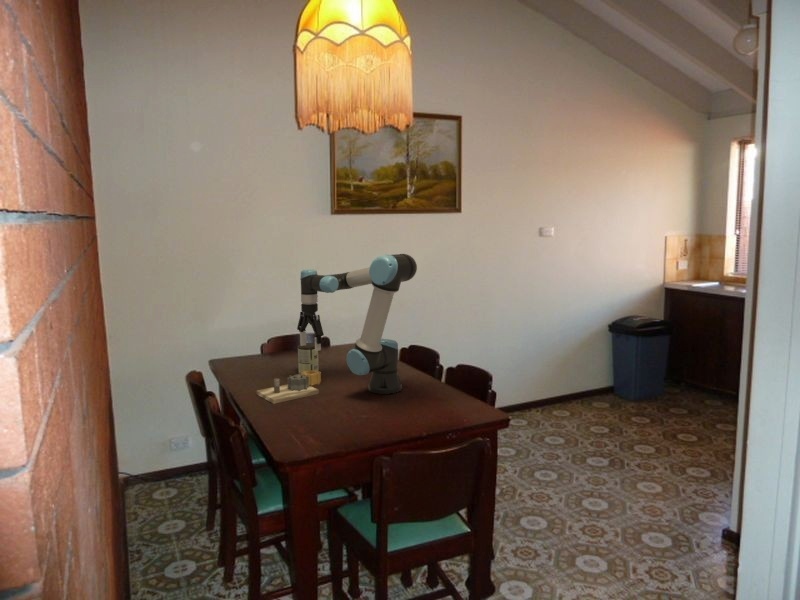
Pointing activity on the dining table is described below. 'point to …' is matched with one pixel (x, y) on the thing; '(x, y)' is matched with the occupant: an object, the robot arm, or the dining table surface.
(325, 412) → the dining table surface
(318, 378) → the gear
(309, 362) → the coffee can
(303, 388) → the gear board
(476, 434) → the dining table surface
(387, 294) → the robot arm
